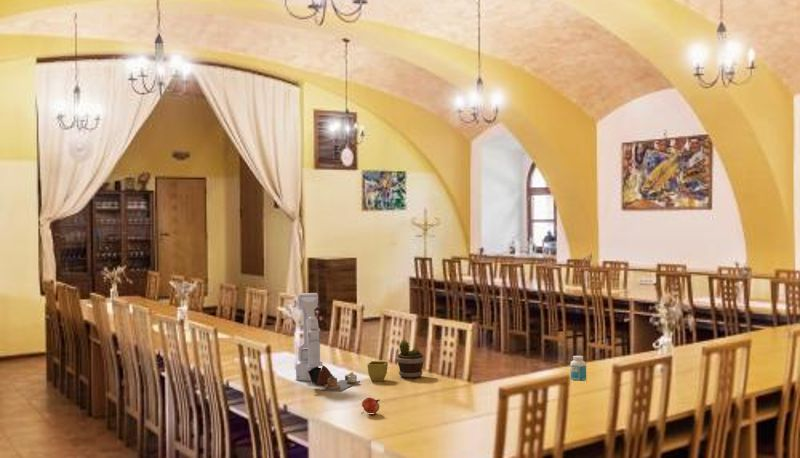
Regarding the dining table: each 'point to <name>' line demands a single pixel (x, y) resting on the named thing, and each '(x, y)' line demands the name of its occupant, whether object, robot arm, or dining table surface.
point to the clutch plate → (350, 377)
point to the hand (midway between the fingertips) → (314, 383)
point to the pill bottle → (578, 369)
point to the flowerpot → (409, 361)
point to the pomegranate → (370, 405)
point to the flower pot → (377, 370)
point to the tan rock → (332, 383)
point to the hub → (351, 381)
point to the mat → (341, 386)
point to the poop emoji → (323, 376)
